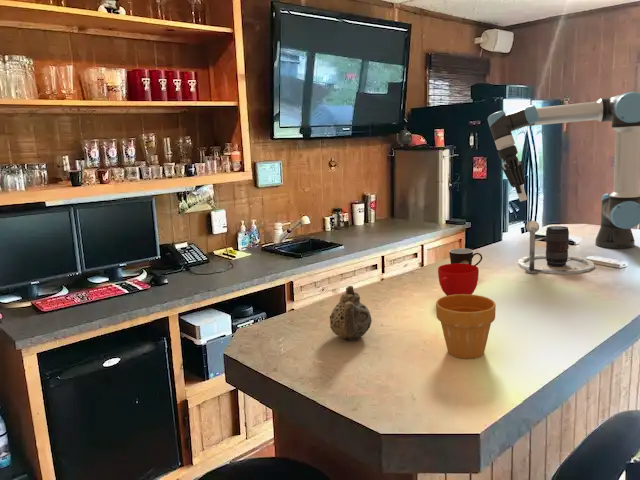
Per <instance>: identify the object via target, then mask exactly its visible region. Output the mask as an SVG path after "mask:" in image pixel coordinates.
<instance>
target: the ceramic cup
mask: <svg viewBox="0 0 640 480" xmlns="http://www.w3.org/2000/svg"><path fill="white" fill-rule="evenodd" d="M474 265H475V264H474ZM474 265H473V264H471V265H470V264H460V263H456V264H451V263H447V264H442V265H440V266H438V268H437V274H438V281H439V282H438V283H439V286H440V289H441V290H442V291H443V293H444V294H445V296H449V295H455V294H470V295H473V293H474V292H475V291H476V289H477V286H478V282H479V275H480V274H479V272H480V271H479V267H478V266H477V265H476V266H474Z"/></svg>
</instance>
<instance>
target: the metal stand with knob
mask: <svg viewBox="0 0 640 480" xmlns="http://www.w3.org/2000/svg"><path fill="white" fill-rule="evenodd" d="M525 227H526V230H527V232H528V233H529V255H528V256H529V260H528V265H529V269H524V270H525V274H527V275H528V274H529V275H536V274H538V273H539V272H538V270H535V269H534V267H535V260H536V259H535V255H536V254H535V251H536V250H535V249H536V242H538V241H542V240H546V238H547V237H546V236H544V237H540V238H536V233H537V232H538V231H540V230H539V229H540V225H539V222H537V221H536V220H529V221H528V222H527V223H526V225H525Z"/></svg>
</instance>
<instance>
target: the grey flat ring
mask: <svg viewBox="0 0 640 480" xmlns="http://www.w3.org/2000/svg"><path fill="white" fill-rule="evenodd" d="M536 259H546V253H545V254H535V260H536ZM587 259H588V258H585V257H580V256H575V255H569V254H568V258H567V262H570V261H572V260H573V261H576V262H581V263H583V264H585V265H586V266H583V267H574V269H549V268H548V269H546V268H544V267H540V268H539V267H535V266H534V269H535V270H538V273H543V274H549V275H550V274H553V275H554V274H555V275H571V274H582V273H586V272H591V271H592V270H594V269H595V264H594V262H593V261H591V260H590V259H588V260H587ZM517 262H518V263H517V265H518V266H519V267H521V269H523V270H526V269H529V264H527V263H526V262H529V255H528V256H523V257H520V258H519V259H518V261H517Z"/></svg>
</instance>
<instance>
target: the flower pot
mask: <svg viewBox="0 0 640 480" xmlns="http://www.w3.org/2000/svg"><path fill="white" fill-rule="evenodd" d="M496 306H497V305H496V302H495V301H494V300H492V299H491V298H489V297H486V296H482V295H478V294H472V295H470V294H455V295H449V296H447V295H445V296H442V297H439V298H438V299H437V300H436V301H435V313H436V318H437V320H438V321H439V322H440V324H441V330H442V333H443V337H444V341H445V346H446V349H447V351H448V353H449V354H450V356H453V357H455V358H459V359H466V360H467V359H476V358H480V357H482V356H483V355H484V354H485V351H486V348H487V347H486V346H487V342H488V339H489V338H488V337H489V334H490V330H491V329H490V328H491V325H492V323H493V322H495V319H496Z"/></svg>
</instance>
